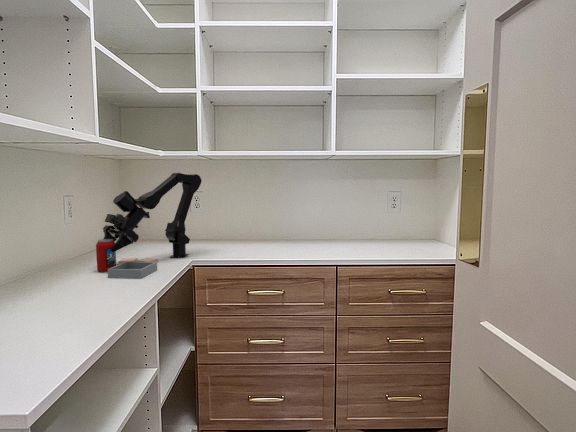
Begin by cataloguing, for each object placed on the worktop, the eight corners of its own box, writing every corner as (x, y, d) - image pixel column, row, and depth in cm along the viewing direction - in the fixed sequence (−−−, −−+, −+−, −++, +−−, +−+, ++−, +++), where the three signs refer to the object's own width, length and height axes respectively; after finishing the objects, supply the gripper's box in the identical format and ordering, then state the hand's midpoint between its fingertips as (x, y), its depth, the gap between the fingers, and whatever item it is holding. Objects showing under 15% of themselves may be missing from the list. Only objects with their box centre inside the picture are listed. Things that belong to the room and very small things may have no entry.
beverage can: (114, 272, 141) (112, 241, 140) (94, 272, 140) (93, 241, 139) (118, 267, 148) (117, 238, 147) (100, 268, 147) (98, 238, 145)
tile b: (146, 260, 162) (146, 257, 162) (157, 261, 160) (157, 258, 160) (136, 263, 156) (136, 260, 156) (148, 264, 154) (147, 261, 154)
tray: (126, 269, 146) (126, 261, 145) (157, 270, 144) (156, 262, 144) (107, 277, 133) (107, 269, 133) (141, 278, 132) (140, 270, 132)
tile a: (123, 260, 161) (123, 258, 160) (137, 260, 161) (137, 258, 161) (118, 264, 155) (118, 261, 154) (133, 263, 155) (133, 261, 155)
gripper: (106, 205, 152) (79, 235, 144) (130, 207, 140) (102, 239, 133) (125, 222, 159) (100, 251, 151) (149, 226, 147) (124, 257, 139)
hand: (106, 250), depth 143 cm, fingers open, 9 cm apart
